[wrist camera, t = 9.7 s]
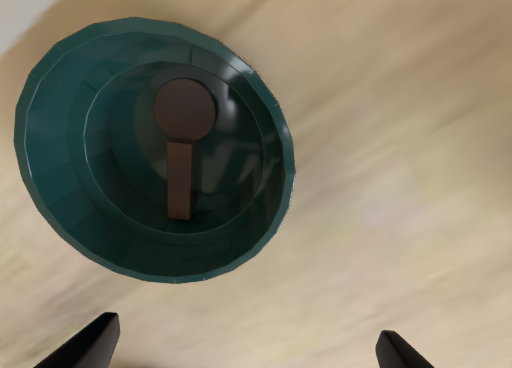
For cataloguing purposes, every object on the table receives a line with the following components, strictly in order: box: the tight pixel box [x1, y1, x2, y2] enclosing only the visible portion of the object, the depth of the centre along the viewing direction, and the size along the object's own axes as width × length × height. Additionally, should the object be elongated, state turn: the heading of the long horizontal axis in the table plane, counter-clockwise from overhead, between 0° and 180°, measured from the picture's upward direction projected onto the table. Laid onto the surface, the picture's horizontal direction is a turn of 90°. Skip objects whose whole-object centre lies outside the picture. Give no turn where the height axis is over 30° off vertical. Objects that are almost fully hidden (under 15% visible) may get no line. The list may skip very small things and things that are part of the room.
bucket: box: [14, 17, 296, 284], centre depth 16 cm, size 13×13×6 cm
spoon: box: [154, 78, 218, 220], centre depth 17 cm, size 9×4×2 cm, turn 173°
